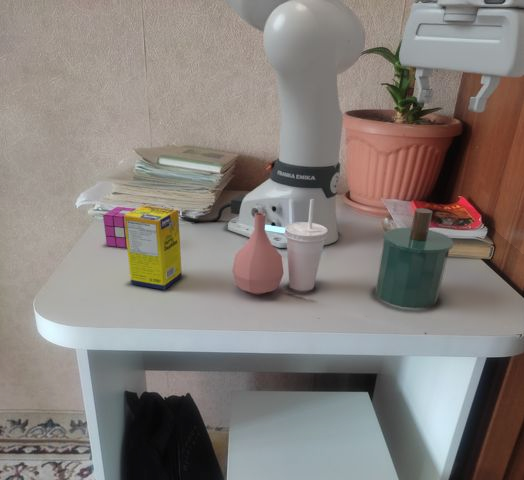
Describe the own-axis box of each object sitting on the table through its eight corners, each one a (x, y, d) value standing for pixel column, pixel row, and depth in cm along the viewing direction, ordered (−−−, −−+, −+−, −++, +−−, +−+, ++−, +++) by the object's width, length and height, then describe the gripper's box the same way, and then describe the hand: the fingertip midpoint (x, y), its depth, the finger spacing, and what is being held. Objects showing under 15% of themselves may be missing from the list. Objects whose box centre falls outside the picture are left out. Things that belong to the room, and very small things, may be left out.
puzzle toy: (120, 236, 98) (116, 206, 96) (148, 239, 98) (145, 209, 95) (106, 245, 94) (102, 214, 91) (136, 249, 93) (133, 218, 90)
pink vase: (285, 284, 82) (290, 209, 76) (278, 304, 76) (283, 224, 69) (237, 279, 83) (238, 204, 77) (227, 299, 77) (227, 219, 70)
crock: (366, 300, 78) (375, 243, 73) (387, 280, 85) (396, 227, 80) (425, 317, 74) (439, 257, 69) (443, 295, 81) (456, 239, 76)
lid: (372, 247, 74) (378, 212, 71) (396, 230, 81) (401, 197, 78) (440, 263, 69) (449, 226, 67) (459, 243, 77) (467, 209, 74)
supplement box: (182, 276, 83) (179, 209, 77) (164, 291, 78) (159, 220, 72) (149, 270, 85) (144, 204, 79) (130, 284, 80) (123, 214, 74)
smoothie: (310, 301, 77) (318, 207, 70) (273, 290, 80) (278, 199, 73) (328, 287, 82) (338, 198, 75) (293, 277, 85) (299, 190, 77)
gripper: (399, -9, 74) (382, 98, 81) (528, -13, 59) (494, 118, 67) (429, -5, 77) (410, 98, 84) (559, -8, 62) (523, 116, 70)
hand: (448, 107), depth 75 cm, fingers open, 8 cm apart
